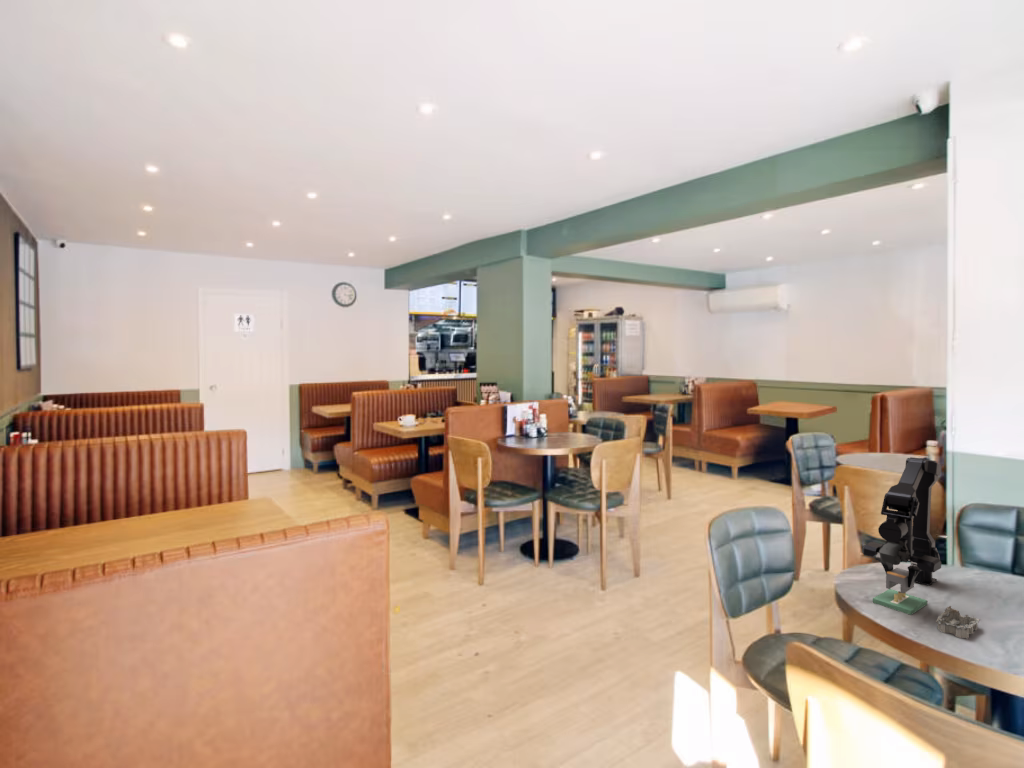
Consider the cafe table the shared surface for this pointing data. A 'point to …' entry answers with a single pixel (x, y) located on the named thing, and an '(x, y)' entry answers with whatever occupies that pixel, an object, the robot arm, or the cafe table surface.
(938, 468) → the robot arm
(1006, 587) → the cafe table surface
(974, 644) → the cafe table surface
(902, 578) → the plug housing
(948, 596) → the cafe table surface
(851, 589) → the cafe table surface
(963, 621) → the egg carton
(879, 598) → the board
